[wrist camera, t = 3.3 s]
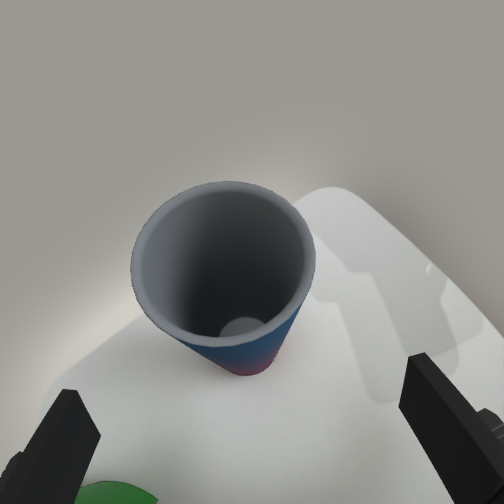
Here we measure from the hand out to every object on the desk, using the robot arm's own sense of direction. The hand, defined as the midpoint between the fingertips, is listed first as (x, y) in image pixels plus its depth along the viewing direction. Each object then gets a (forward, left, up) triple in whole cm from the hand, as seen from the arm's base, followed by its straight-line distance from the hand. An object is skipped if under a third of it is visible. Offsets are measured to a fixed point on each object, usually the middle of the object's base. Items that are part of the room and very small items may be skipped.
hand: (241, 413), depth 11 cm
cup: (-3, +5, -13) cm, 14 cm away
